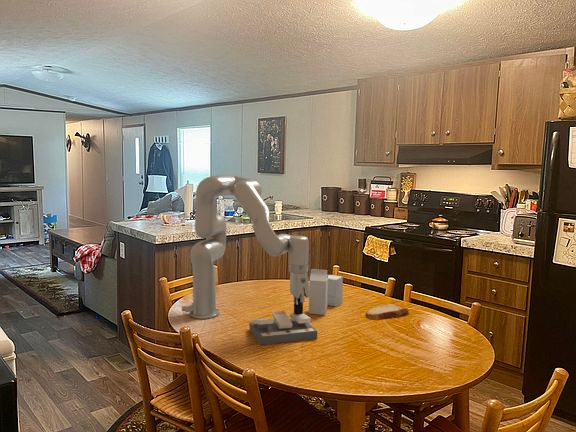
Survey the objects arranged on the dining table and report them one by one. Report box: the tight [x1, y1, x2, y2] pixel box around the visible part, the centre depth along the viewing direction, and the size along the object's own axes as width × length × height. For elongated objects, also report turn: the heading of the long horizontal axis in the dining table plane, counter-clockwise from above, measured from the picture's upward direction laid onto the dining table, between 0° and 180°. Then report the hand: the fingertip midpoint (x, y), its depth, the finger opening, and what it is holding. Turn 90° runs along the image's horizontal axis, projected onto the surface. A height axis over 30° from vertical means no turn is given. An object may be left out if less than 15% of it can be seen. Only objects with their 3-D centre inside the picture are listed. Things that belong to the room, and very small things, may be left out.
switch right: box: [289, 312, 312, 323], centre depth 188 cm, size 5×10×2 cm, turn 18°
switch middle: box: [271, 310, 292, 329], centre depth 186 cm, size 5×10×2 cm, turn 18°
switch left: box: [252, 317, 274, 325], centre depth 183 cm, size 5×10×2 cm, turn 18°
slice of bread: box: [365, 303, 410, 321], centre depth 211 cm, size 18×18×4 cm
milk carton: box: [308, 268, 329, 316], centre depth 211 cm, size 7×7×19 cm
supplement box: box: [327, 274, 344, 307], centre depth 225 cm, size 7×7×13 cm
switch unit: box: [248, 317, 318, 346], centre depth 185 cm, size 22×16×4 cm
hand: (298, 313), depth 191 cm, fingers closed
